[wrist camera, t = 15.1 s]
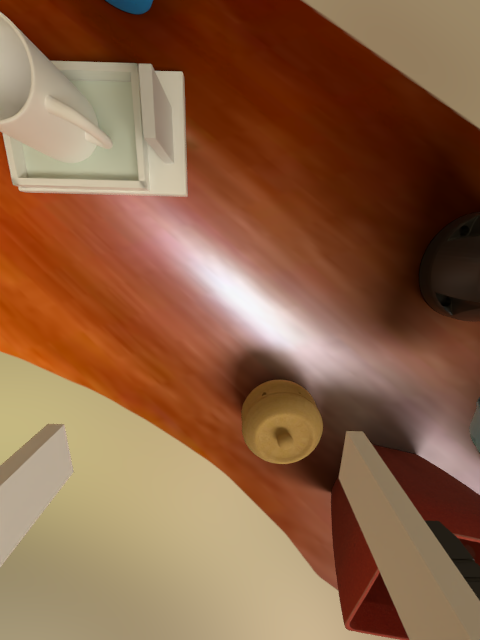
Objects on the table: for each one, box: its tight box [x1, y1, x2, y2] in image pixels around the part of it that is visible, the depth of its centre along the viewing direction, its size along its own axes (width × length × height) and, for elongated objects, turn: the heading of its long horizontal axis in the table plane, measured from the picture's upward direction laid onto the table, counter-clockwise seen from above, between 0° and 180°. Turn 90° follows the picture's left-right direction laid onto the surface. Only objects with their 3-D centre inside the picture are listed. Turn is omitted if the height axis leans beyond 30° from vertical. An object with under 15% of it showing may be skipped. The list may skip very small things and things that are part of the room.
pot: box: [241, 380, 323, 464], centre depth 36 cm, size 12×12×10 cm
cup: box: [0, 12, 113, 163], centre depth 25 cm, size 8×12×10 cm
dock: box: [3, 61, 188, 197], centre depth 27 cm, size 22×13×8 cm, turn 89°
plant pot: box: [331, 444, 480, 640], centre depth 37 cm, size 19×19×17 cm
